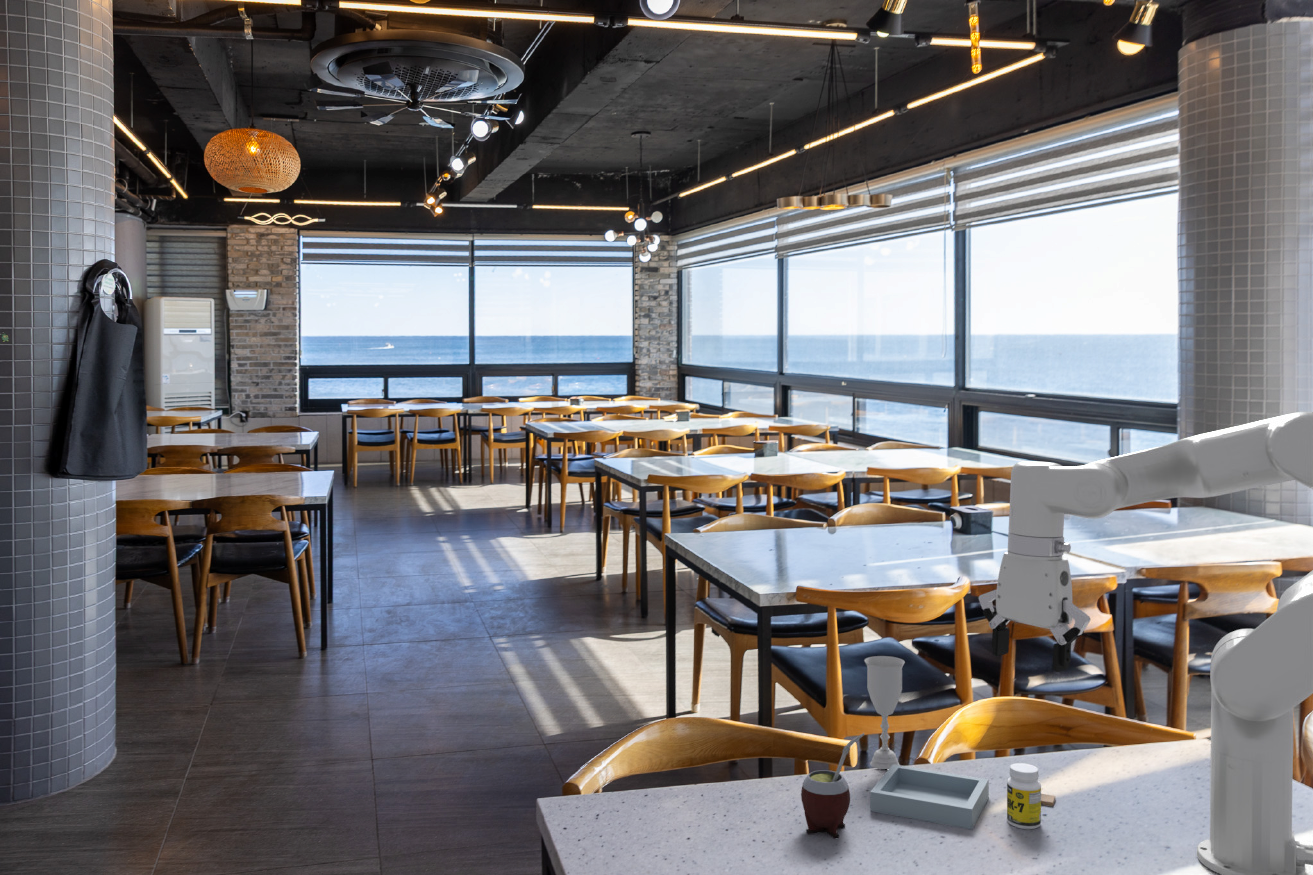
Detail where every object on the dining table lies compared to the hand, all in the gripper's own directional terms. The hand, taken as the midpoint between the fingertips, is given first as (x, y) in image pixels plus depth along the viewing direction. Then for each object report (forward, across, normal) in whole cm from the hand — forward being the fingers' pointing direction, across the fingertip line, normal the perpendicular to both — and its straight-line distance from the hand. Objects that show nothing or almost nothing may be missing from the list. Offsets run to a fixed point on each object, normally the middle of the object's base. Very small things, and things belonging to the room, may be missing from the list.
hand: (1029, 662), depth 151 cm
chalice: (+26, +29, -4) cm, 39 cm away
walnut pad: (+24, +4, -10) cm, 26 cm away
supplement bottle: (+24, 0, 0) cm, 25 cm away
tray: (+25, +13, +4) cm, 29 cm away
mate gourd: (+26, +17, +23) cm, 38 cm away
